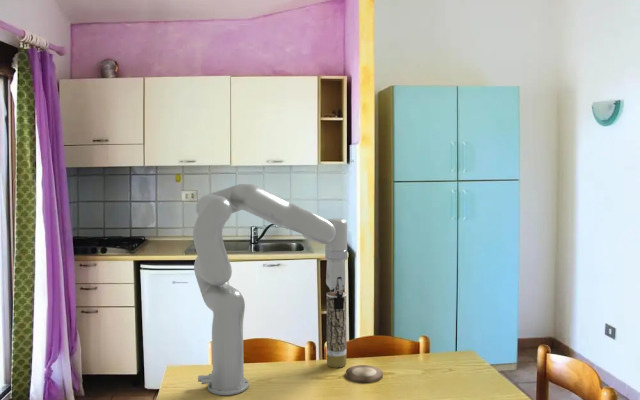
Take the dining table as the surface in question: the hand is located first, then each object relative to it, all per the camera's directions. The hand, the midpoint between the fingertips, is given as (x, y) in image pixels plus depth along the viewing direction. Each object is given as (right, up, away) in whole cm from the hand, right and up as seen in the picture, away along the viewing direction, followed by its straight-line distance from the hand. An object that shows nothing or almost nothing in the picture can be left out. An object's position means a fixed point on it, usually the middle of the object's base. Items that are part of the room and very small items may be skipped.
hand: (336, 305), depth 183 cm
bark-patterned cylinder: (0, -21, +1) cm, 21 cm away
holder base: (+9, -21, -8) cm, 24 cm away
